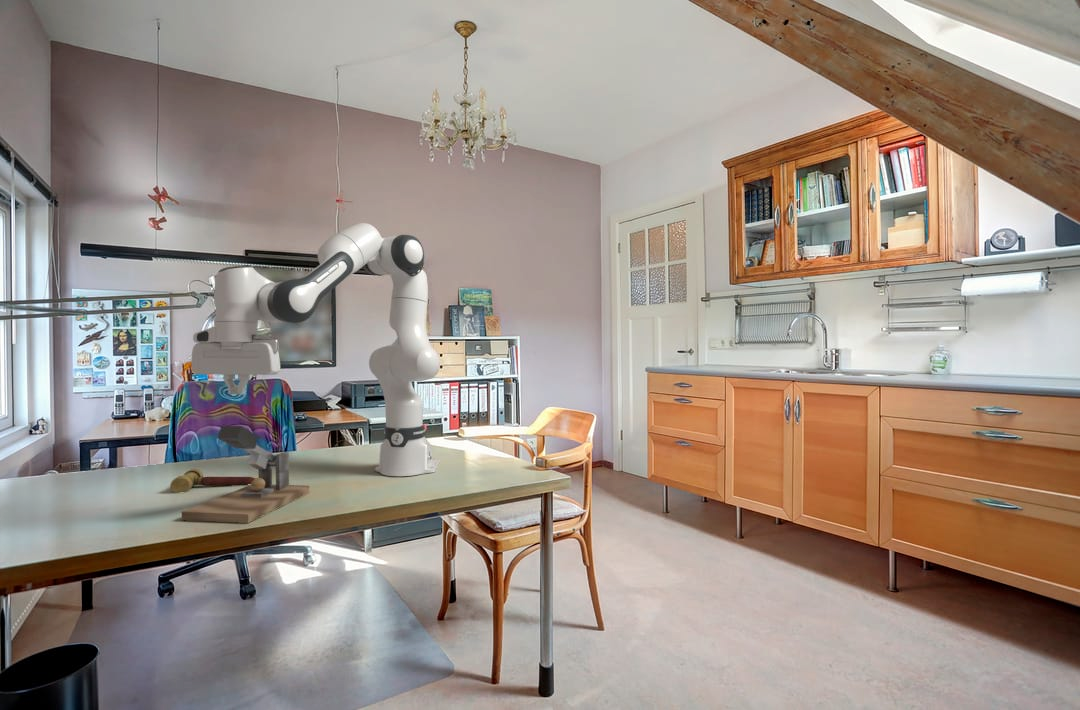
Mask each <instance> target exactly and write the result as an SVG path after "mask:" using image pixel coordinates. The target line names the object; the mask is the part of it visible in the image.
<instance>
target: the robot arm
mask: <svg viewBox="0 0 1080 710" xmlns="http://www.w3.org/2000/svg"><path fill="white" fill-rule="evenodd" d="M424 251H425V250H424V247H423V245H422V242H421V241H420V239H418V238H417V237H416V236H413V235H410V234H399V235H391V236H386V237H382V236H381V233H380V232H379V230H377V228H376V227H374V226H373V225H372V224H370V223H368V222H359V223H356V224H354V225H353V224H352V225H351V226H349V227H345V228H344V229H343V230H341V231H338V232H337V233H335V234H333V235H332V236H331V237H329V238H328V239H327V240H325V241H324V242H323V244H321V246H320V247H319V248H318V250H317V258H318V259H317V260H318V263H319V265H317V266H316V267H315V268H314V269H313V270H311V271H310V272H308V273H307V274H306V275H304V276H303V277H302V278H295V279H289V280H288V279H287V280H285V281H279V282H274V281H272V280H270V279H269V278H266V277H265V276H263V275H261V274H260V273H259V272H258V271H256V270H255V268H254V267H253V266H250V265H237V266H236V265H235V266H234V265H233V266H228V267H223V268H222V269H220V270H218V271H217V273H216V275H215V276H216V277H215V279H214V288H213V289H214V290H213V303H214V307H215V317H214V320H213V326H211V327H209V328H207V329H203V330H200V331H198V332H195V333H194V334H193V335H192V338H193V339H192V340H193V342H194V343H195V344H194V345H193V348H192V352H191V369H192V371H193V373H194V374H195V375H223V378H222V379H223V381H224V383H225V385H226V387H227V388H228V389H227V390H228V391H227V393H228V395H245V393H246V389H245V388H246V386H247V384H248V382H249V381H250V375H251V376H264V375H265V376H272V375H273V376H274V375H278V374H279V372H280V371H281V359H280V354H279V341H278V339H277V338H276V337H274V336H273V335H272V334H267V335H262V334H259V333H258V331H259V330H258V323H259V322H258V321H261V322H264V323H289V324H298V323H299V324H300V323H303V322H305V321H307V320H308V319H309V318H311V317H312V315H314V313H315V312H316V308H317V307H318V305H319V304H320V302H321V301H322V299H323V298H324V297H325V296H326V295H328V293H330V292H331V291H333V289H334V288H336V287H337V286H338V285H339V284H340V283H341V282H343V281H344V280H345V279H346V278H348V277H349V276H352V275H353V274H354V273H356V272H358V271H359V270H360V269H362V268H363V270H364V271H365V272H367V273H368V274H370V275H373V276H378V277H379V276H380V277H381V276H390V277H391V281H392V285H393V286H392V292H391V299H390V307H389V308H390V311H389V319H388V320H389V321H388V322H389V326H390V327H391V329H392V330H393V331H395V333H396V337H397V341H398V343H397V344H398V345H396V344H395V345H385V346H382V347H379V348H377V349H375V350H373V352H371V354H370V356H369V360H368V366H369V369H370V372H371V373H372V375H374V376H375V378H376V379H377V381H378V382H379V385H380V388H381V391H382V394H383V398H384V405H385V407H384V408H385V426H384V429H383V435H384V436H383V438H384V441H383V442H382V443H381V444H380V450H379V463H378V464H379V465H378V466H376V467H375V470H374V471H375V472H378V473H380V474H381V475H384V476H387V477H410V476H417V475H423V474H430V473H435V471H436V470H437V467H438V466H439V465H440V459H437V458H434V457H433V446H432V444H431V443H430V441H428V439H427V438H426V437H425V436H426V431H427V429H428V428H427V424H426V423H424V422H423V420H424V417H423V415H424V413H423V411H424V409H423V407H424V406H423V405H424V404H423V399H422V398H421V396H420V395H419V394H418V393H417V392H416V391H415V389H414V386H413V383H412V382H422V381H423V382H424V381H427V380H432V379H433V378H435V377H436V376H437V375H438V372H439V370H440V368H441V361H440V360H441V359H440V355H439V354H438V352H437V350H435V349H434V348H433V346H432V344H431V342H430V339H429V336H428V329H427V315H428V305H429V304H428V303H429V301H428V299H429V286H428V277H427V273H426V272H425V271H424V270H423V269H424V265H425V252H424ZM236 375H237V379H238V380H239V382H238V383H237V385H236V383H235V381H234V380H235V379H236ZM423 423H424V424H423Z"/></svg>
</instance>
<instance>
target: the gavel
mask: <svg viewBox="0 0 1080 710" xmlns="http://www.w3.org/2000/svg"><path fill="white" fill-rule="evenodd" d="M254 479H256V477H252V476H204V474H203V472H202V471H201V470H200V469H196V468H193V469H189V470H188V471H186V472H185V473H184V474H183V475H179V476H177V477H176V478H174V479H173V480H171V483H170V490H171V492H173V493H174V494H181V493H180V492H186V493H187V492H189V491H190V490H191V489H192V487H194V486H204V487H231V486H230V485H242V486H249V485H248V484H251V482H252V481H253V480H254Z"/></svg>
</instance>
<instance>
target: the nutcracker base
mask: <svg viewBox="0 0 1080 710" xmlns="http://www.w3.org/2000/svg"><path fill="white" fill-rule="evenodd" d="M268 452H269V453H271V454H273V453H272V451H268ZM275 455H276V467H275V484H273V466H266V469H257V470H258V472H257V473H258V474H257V475H258V477H257V478H256V477H255V478H256V479H254V480H253V481H252V482H251V485H246V486H244V487H242V488H239V489H236V490H234V491H231V492H229V493H226V494H224V495H221V496H219V497H216V498H213V499H211V500H208V501H206V502H202V503H201V504H198V505H195V506H193V507H190V508H188V509H185V510H182V511H181V521H182V520H186V521H185V522H201V521H214V522H213V523H225V522H238V523H237V524H250V523H252V522H254V521H256V520H257V519H256V518H258V517H260V516H262V515H264V516H266V515H267V514H266V513H268V512H270V511H272V512H274V511H275V510H274V509H276V508H278V507H281V506H283V505H285V504H287V503H289V502H291V501H293V500H295V499H297V498H299V497H301V496H303V495H305V496H307V495H308V493H309V494H310V485H303V484H302V485H299V484H290V474H289V473H290V465H289V463H290V462H289V461H290V459H289V457H290V453H289V451H283V452H281V453H277V454H275ZM306 494H307V495H306ZM303 497H304V496H303ZM301 498H302V497H301ZM299 499H300V498H299ZM297 500H298V499H297ZM295 501H296V500H295ZM293 502H294V501H293ZM291 503H292V502H291ZM289 504H290V503H289ZM287 505H288V504H287ZM285 506H286V505H285ZM283 507H284V506H283ZM281 508H282V507H281ZM278 509H279V508H278ZM273 510H274V511H273ZM276 510H277V509H276ZM270 513H271V512H270ZM265 514H266V515H265ZM268 514H269V513H268ZM262 517H263V516H262ZM260 518H261V517H260ZM255 519H256V520H255ZM258 519H259V518H258ZM253 520H254V521H253ZM215 521H216V522H215ZM251 521H252V522H251ZM249 522H250V523H249Z"/></svg>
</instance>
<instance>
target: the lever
mask: <svg viewBox="0 0 1080 710" xmlns="http://www.w3.org/2000/svg"><path fill="white" fill-rule="evenodd" d="M259 438H260V436H259V435H257V434H255V433H254V432H252V431H250V430H249V429H248V428H246V427H244V426H242V425H221V426H220V429H219V432H218V435H217V439H218V440H220V441H222V442H223V443H225V444H226V445H229V446H230V447H232V448H234V449H241V450H243V451H245V452H246V453H248V454H250V455H249V457H248V460H247V465H248V466H251V467H252V468H253V469H256V470H258V469H266V466H272V467H274V468H276V455H277V454H273V453H272V454H271V453H269V452H270V451H268V450H266V449H264V448H263V447H261V446H259V445H258V440H259Z"/></svg>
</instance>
